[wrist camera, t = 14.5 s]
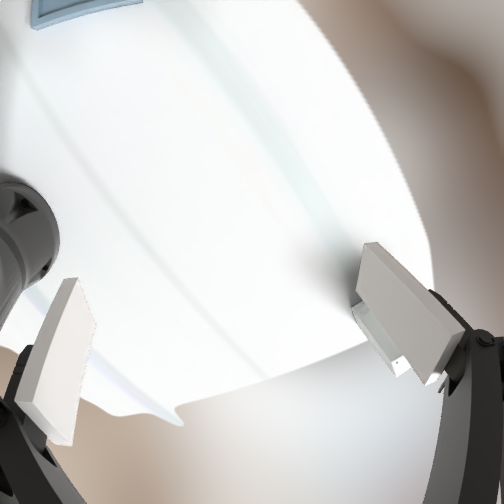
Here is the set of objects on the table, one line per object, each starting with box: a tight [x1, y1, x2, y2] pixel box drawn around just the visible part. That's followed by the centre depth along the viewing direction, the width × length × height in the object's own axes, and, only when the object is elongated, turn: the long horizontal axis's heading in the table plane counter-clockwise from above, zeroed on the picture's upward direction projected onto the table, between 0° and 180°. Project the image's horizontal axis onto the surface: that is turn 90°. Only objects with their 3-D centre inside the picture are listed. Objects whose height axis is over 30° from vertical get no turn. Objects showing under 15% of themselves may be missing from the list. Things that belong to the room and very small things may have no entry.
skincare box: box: [352, 301, 411, 377], centre depth 48 cm, size 8×6×15 cm
